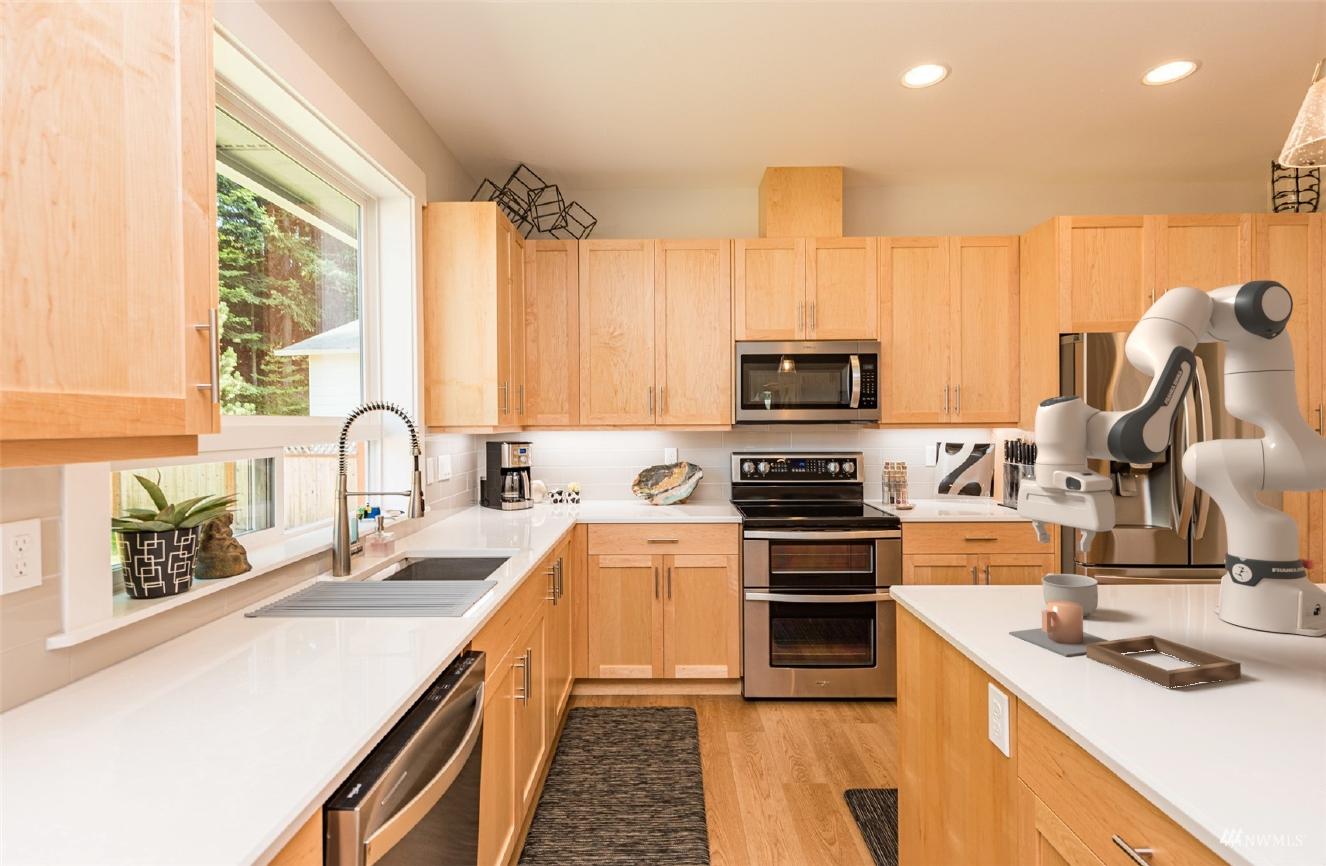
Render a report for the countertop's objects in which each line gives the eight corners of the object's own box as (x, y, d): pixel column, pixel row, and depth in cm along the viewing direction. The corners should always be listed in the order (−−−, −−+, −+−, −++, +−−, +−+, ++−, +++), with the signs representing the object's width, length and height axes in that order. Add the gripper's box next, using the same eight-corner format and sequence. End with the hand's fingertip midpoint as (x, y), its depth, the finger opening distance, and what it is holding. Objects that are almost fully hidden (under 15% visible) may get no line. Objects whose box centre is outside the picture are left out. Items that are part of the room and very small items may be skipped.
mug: (1065, 632, 133) (1064, 598, 133) (1090, 642, 127) (1090, 606, 127) (1032, 637, 131) (1032, 602, 131) (1057, 646, 125) (1056, 610, 125)
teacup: (1107, 621, 141) (1106, 584, 141) (1052, 619, 143) (1052, 583, 143) (1080, 603, 155) (1079, 570, 154) (1030, 602, 157) (1029, 569, 157)
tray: (1151, 648, 124) (1151, 635, 124) (1240, 677, 109) (1240, 663, 109) (1086, 657, 120) (1086, 643, 120) (1169, 689, 105) (1169, 673, 105)
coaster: (1064, 627, 138) (1064, 625, 138) (1125, 648, 124) (1125, 646, 124) (1009, 633, 134) (1009, 632, 134) (1066, 656, 121) (1066, 654, 121)
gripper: (1008, 474, 138) (1010, 538, 139) (1093, 483, 118) (1094, 558, 119) (1033, 472, 140) (1034, 536, 140) (1120, 481, 120) (1122, 555, 120)
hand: (1063, 546), depth 129 cm, fingers open, 8 cm apart
